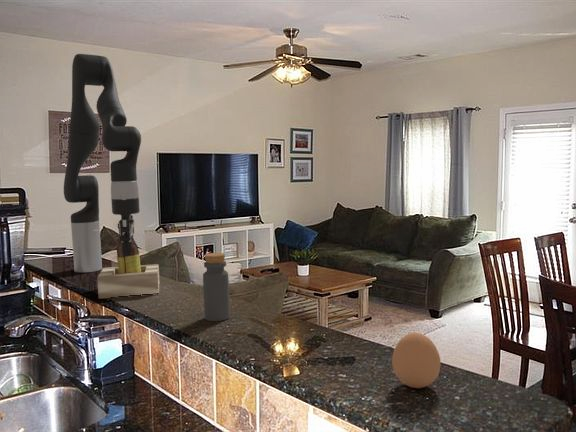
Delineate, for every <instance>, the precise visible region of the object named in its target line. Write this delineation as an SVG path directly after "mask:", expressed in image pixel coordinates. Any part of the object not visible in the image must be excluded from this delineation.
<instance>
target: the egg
mask: <svg viewBox="0 0 576 432" xmlns="http://www.w3.org/2000/svg"><path fill="white" fill-rule="evenodd" d="M391 363H392V369H393V371H394V374H395V375H396V377H397V378H398V379H399V381H401V383H403V384H404V385H406V386H408V387H410V388H414V389H422V388H425V387H427V386H429V385H431V384H432V383H434V381H435V380H436V379H437V378H438V376H439V374H440V371H441V357H440V353H439V351H438V349H437V347H436V345H435V343H434V342H433V340H431V338H429V336H426V335H424V333H423V334H422V333H421V332H411V333H408V334H406V335H404V336H402V337H401V338H400V339H399V341H398V342H397V343H396V345H395V346H394V350H393V352H392V357H391Z"/></svg>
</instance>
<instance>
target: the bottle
mask: <svg viewBox="0 0 576 432" xmlns="http://www.w3.org/2000/svg"><path fill="white" fill-rule="evenodd" d="M225 257H226V254H225V253H223V252H212V253H211V252H210V253H206V254H204V259H205V262H203V266H204V268H206V271H205V272H204V273H202V285H203V306H204V319H205V320H206V321H209V322H223V321H227V320H229V319H230V317H231V309H230V307H231V305H230V302H231V301H230V285H229V284H230V283H229V282H230V281H229V272H228V271H227V270H225V267H226V266H227V261H225ZM226 319H227V320H226ZM222 320H223V321H222Z"/></svg>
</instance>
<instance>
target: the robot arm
mask: <svg viewBox="0 0 576 432" xmlns="http://www.w3.org/2000/svg"><path fill="white" fill-rule="evenodd" d="M86 86H95V87H99V86H100V87H101V86H102V87H103V89H102V90H101V91H102V92H101V93H100V94H99V96H98V98H97V101H96V105H95V106H96V111H97V114H98V117H99V119H100V122H99V119H98V118H97V116H96V114H95V112H94V111H93V109H92V107H91V106H90V103H89V101H88V98H87V97H86V89H85V87H86ZM70 109H71V110H70V120H69V130H68V147H67V148H68V149H67V151H68V152H67V159H66V160H67V161H66V168H65V175H64V179H63V180H64V181H63V196H64V197H63V198H64V199H65V201H66V202H68V203H70V204H71V203H72V204H73V203H85V206H84V207H83V208H81V209H80V210H78V211H75V212H73V213H72V214H71V215H70V227H71V228H70V229H71V243H72V256H73V269H74V270H73V272H75V273H93V272H98V271H102V269H103V262H102V261H103V260H102V259H103V257H102V245H101V244H102V243H101V231H100V230H101V228H100V207H99V206H100V204H99V202H100V198H99V197H100V195H99V194H100V193H99V182H98V179H97V177H96V176H95V175H90V174H89V175H79V174H80V171H81V169H82V167H83V165H84V164H85V162H86V161H87V160H88V158H90V156H91V155H92V154H93V153H94V151H95V150H96V148H97V147H98V145H99V141H100V140H99V139H100V138H99V137H100V129H102V134H101V144H102V146H103V147H104V149H105V150H107V151H109V152H126V154H125V156H124V157H123V158H121V159H116V160H112V162H111V163H110V167H109V169H110V170H109V171H110V180H111V181H110V199H111V201H110V202H111V213H112V214H113V215H115V216H116V215H117V216H118V215H120V216H121V217H120V218H121V219H120V220H118V223H119V227H120V236H121V238H120V240H121V241H122V246H123V256H130V255H131V236H132V235H133V237H134V236H135V235H134V234H135V219H134V216H133V215H136V214H139V213H140V196H139V195H140V194H139V185H138V177H137V164H138V156H139V152H140V148H141V144H142V135H141V132H140V130H139V129H138V128H137V127H135V126H133V125H130V126H129V125H128V126H126V125H127V123H128V121H127V120H128V119H127V116H126V114H125V111H124V109H123V107H122V104H121V102H120V99H119V93H118V90H117V84H116V79H115V75H114V71H113V67H112V64H111V62H110V60H109V58H107V56H103V55H97V54H86V53H77V54H75V55H74V58H73V60H72V67H71V107H70ZM100 123H101V126H100ZM101 127H102V128H101ZM124 236H128V237H124Z"/></svg>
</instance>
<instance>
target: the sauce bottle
mask: <svg viewBox="0 0 576 432" xmlns="http://www.w3.org/2000/svg"><path fill="white" fill-rule="evenodd" d="M117 229H118V234H119V235H118V239H119V240H118V243H117V244H116V260H117V267H118V272H119V274H127V273H141V267H140V265H141V259H140V258H141V257H140V251H139V247H138V244H137V242H136V240H135V239H134V236H133V235H134V234H133V235H132V236H131V255H130V256H123V246H122V241H121V240H120V238H121V236H120V227H119V222H117ZM124 237H128V236H124Z"/></svg>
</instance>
